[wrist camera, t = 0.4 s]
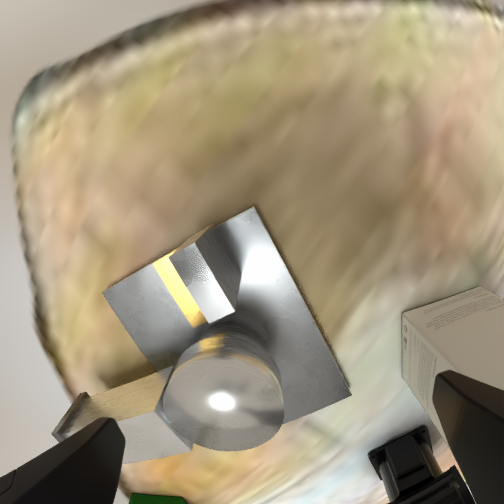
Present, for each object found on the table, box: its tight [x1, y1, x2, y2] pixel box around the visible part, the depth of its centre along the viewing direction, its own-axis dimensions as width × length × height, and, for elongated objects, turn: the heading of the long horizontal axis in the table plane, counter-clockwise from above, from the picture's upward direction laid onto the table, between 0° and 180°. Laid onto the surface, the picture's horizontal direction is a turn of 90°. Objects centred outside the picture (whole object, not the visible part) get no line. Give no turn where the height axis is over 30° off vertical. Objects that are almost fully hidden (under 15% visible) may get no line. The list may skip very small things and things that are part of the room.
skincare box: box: [402, 286, 504, 448], centre depth 14 cm, size 8×7×16 cm
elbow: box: [52, 336, 284, 464], centre depth 17 cm, size 16×6×5 cm, turn 119°
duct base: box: [102, 206, 352, 424], centre depth 19 cm, size 16×12×6 cm
